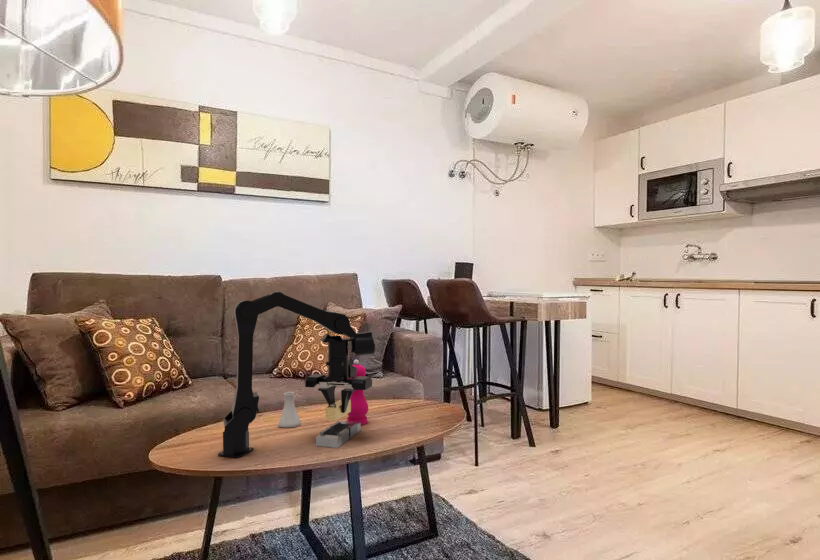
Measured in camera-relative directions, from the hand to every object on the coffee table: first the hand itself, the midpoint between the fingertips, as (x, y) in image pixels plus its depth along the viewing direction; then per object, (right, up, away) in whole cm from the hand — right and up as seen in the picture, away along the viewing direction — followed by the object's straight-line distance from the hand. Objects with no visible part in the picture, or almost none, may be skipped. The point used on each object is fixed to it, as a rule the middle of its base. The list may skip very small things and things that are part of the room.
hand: (338, 412), depth 134 cm
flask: (-18, -8, +14) cm, 24 cm away
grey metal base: (0, -7, 0) cm, 7 cm away
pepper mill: (+4, -8, +15) cm, 17 cm away
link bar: (0, -1, 0) cm, 1 cm away
